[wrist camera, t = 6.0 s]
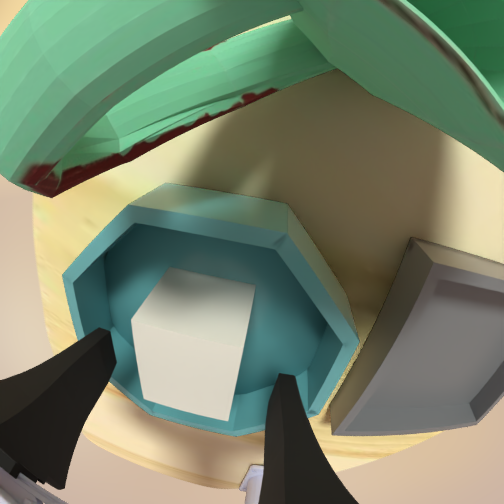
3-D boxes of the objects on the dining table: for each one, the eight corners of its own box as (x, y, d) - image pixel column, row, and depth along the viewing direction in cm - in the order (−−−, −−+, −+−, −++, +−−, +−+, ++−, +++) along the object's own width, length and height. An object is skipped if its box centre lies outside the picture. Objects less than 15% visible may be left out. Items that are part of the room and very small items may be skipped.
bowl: (298, 403, 17) (297, 445, 14) (117, 360, 17) (96, 394, 14) (371, 222, 12) (397, 256, 9) (97, 174, 12) (52, 193, 9)
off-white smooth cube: (240, 361, 15) (227, 421, 11) (169, 344, 15) (143, 398, 11) (256, 284, 13) (243, 347, 9) (169, 266, 13) (130, 320, 9)
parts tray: (467, 402, 16) (476, 424, 14) (329, 404, 17) (331, 435, 15) (548, 279, 11) (568, 298, 9) (410, 236, 12) (433, 262, 9)
